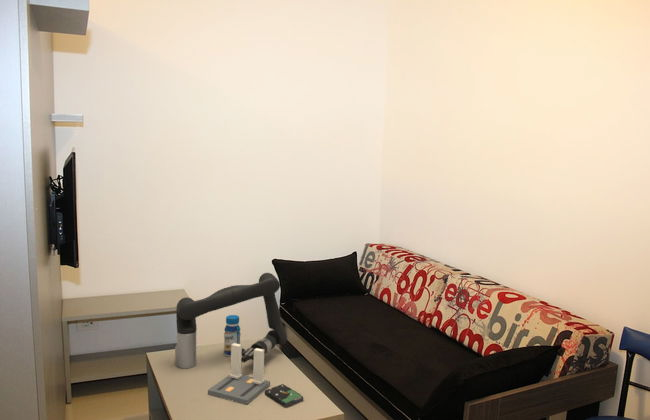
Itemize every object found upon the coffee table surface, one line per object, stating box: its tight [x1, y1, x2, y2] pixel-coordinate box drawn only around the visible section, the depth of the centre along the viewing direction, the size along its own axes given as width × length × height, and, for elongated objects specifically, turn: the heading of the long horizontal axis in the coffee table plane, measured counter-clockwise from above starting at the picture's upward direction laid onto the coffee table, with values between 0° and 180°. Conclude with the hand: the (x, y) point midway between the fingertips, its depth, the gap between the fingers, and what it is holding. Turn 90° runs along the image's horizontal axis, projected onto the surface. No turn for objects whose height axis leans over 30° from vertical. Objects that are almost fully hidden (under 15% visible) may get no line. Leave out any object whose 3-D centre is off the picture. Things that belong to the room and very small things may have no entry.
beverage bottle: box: [223, 314, 241, 357], centre depth 274 cm, size 8×8×20 cm
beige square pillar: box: [229, 343, 243, 379], centre depth 243 cm, size 4×4×15 cm
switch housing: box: [207, 374, 271, 405], centre depth 236 cm, size 20×20×2 cm
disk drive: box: [264, 383, 304, 409], centre depth 231 cm, size 10×3×15 cm
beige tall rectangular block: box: [252, 348, 265, 385], centre depth 238 cm, size 4×4×15 cm
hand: (242, 360), depth 248 cm, fingers closed
